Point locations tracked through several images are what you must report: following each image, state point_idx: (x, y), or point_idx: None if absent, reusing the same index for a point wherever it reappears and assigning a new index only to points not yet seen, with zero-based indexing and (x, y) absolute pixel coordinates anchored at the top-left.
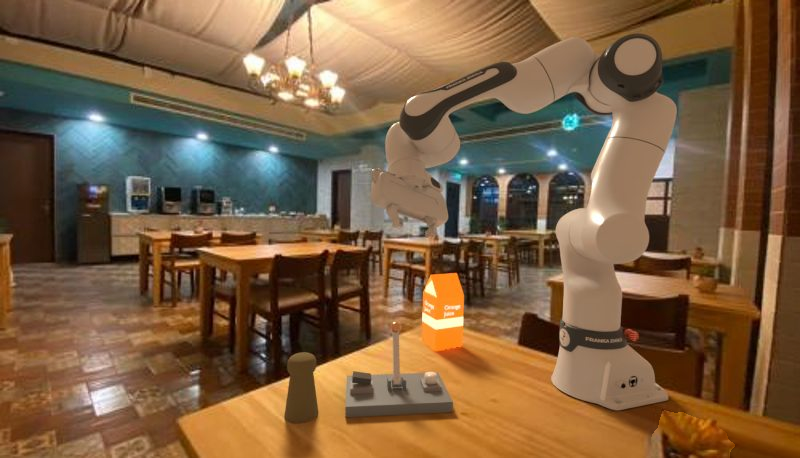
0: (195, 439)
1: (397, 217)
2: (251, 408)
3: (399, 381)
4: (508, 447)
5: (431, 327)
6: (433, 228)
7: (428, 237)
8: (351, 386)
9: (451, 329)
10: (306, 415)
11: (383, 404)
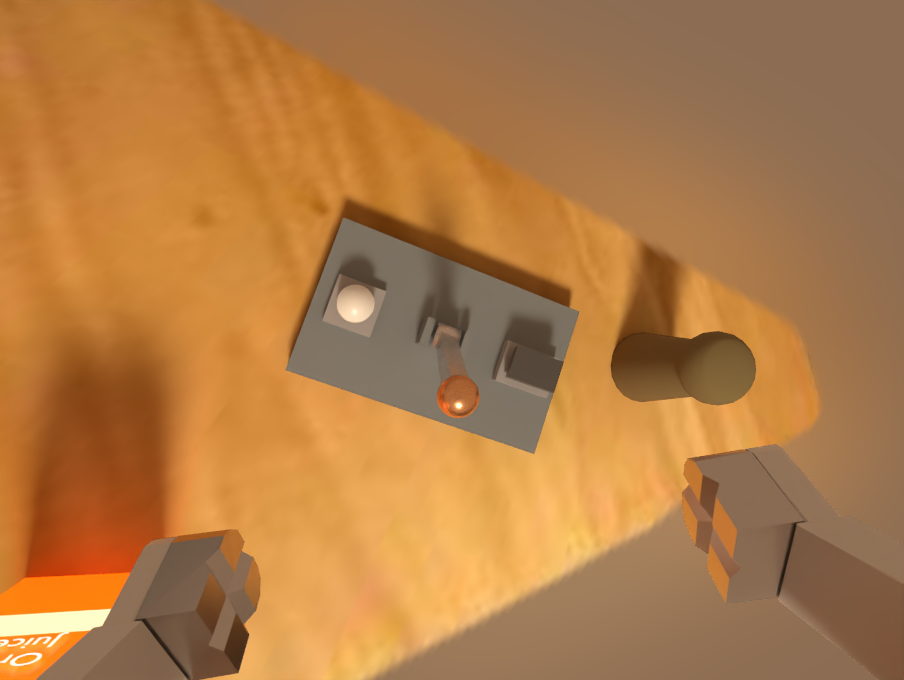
0: (804, 363)
1: (828, 507)
2: (724, 427)
3: (444, 324)
4: (310, 69)
5: None
6: (124, 628)
7: (241, 561)
8: None
9: (46, 609)
10: (645, 334)
11: (501, 283)
